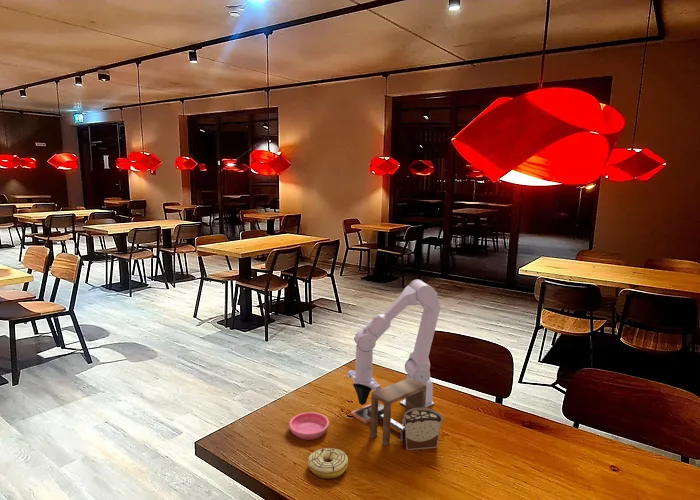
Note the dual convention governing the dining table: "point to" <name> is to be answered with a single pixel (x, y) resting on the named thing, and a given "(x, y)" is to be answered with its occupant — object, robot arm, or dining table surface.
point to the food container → (421, 428)
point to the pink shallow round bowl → (309, 425)
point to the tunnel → (392, 394)
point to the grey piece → (393, 422)
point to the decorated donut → (328, 462)
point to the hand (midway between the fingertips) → (362, 403)
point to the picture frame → (362, 414)
